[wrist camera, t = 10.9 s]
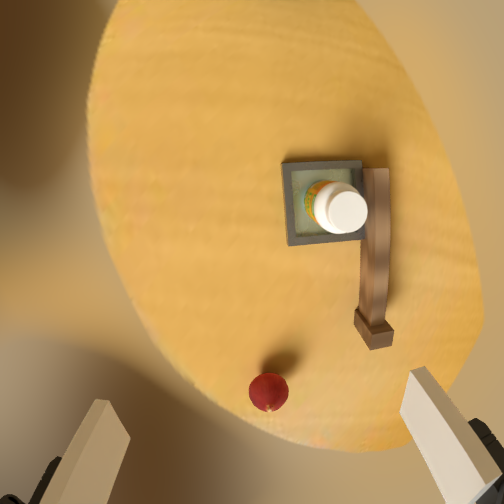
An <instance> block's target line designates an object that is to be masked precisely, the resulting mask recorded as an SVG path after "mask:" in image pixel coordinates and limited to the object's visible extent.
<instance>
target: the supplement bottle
mask: <svg viewBox="0 0 504 504" xmlns="http://www.w3.org/2000/svg"><path fill="white" fill-rule="evenodd" d="M303 205H304V209H305V211H306V213H307V215H308V216H309V217H310V218H311V219H312V220H313V221H315V222H316V223H317V224H318V225H320V226H321V227H322V228H324V229H325V230H327V231H329V232H331V233H335V234H342V233H349V232H354V231H356V230H358V229H359V228H360V227H362V225H363V224H364V223H365V221H366V218H367V213H368V209H367V204H366V202H365V200H364V198H363V197H362V196H361V195H360V194H359V192H358V191H357V190H356V189H355V188H354V187H353V186H351V185H349V184H347V183H343V182H337V181H329V180H320V181H317V182H315V183H313V184H311V185H310V186H309V187H308V189H307V190H306V192H305V194H304V198H303Z"/></svg>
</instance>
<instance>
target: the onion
mask: <svg viewBox="0 0 504 504" xmlns="http://www.w3.org/2000/svg"><path fill="white" fill-rule="evenodd" d="M288 392H289V389H288V386H287V384H286V381H285V379H283V378H282V377H281V376H279V375H278V374H275V373H264V374H261V375H259V376H257V377H256V378H255V379H254V380H253V381H252V382H251V384H250V386H249V397H250V399H251V401H252V403H253V404H254V406H256V407H257V408H258V409H260V410H263V411H265V412H272V411H275V410H278V409H279V408H280V407H281V406H282V405H283V404H284V403H285V402H286V400H287V398H288Z"/></svg>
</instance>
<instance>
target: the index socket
mask: <svg viewBox="0 0 504 504" xmlns="http://www.w3.org/2000/svg"><path fill="white" fill-rule="evenodd" d="M281 175H282V186H283V198H284V210H285V224H286V238H287V245H288V246H297V245H308V244H319V243H329V242H340V241H351V240H362V239H365V223H364V224H363V225H362V227H360V228H359V229H358V230H356V231H354V232H349V233H342V234H335V233H331V232H329V231H327V230H325V229H324V228H322V227H321V226H320V225H318V224H317V223H316V222H315V221H313V220H312V219H311V218H310V217H309V216H308V215H307V213H306V211H305V209H304V205H303V198H304V194H305V192H306V190H307V189H308V187H309V186H310V185H311V184H313V183H315V182H317V181H320V180H329V181H337V182H343V183H347V184H349V185H351V186H353V187H354V188H355V189H356V190H357V191H358V192H359V194H360V195H361V196H362V197H363V198H364V188H363V171H362V160H347V161H317V162H297V163H282V164H281Z"/></svg>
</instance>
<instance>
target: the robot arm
mask: <svg viewBox="0 0 504 504" xmlns="http://www.w3.org/2000/svg"><path fill="white" fill-rule="evenodd" d="M399 413H400V415H401V417H402V418H403V420H404V422H405V424H406V426H407V428H408V429H409V431H410V433H411V435H412V437H413V439H414V441H415V442H416V444H417V446H418V448H419V450H420V452H421V454H422V456H423V458H424V459H425V461H426V463H427V465H428V467H429V469H430V471H431V473H432V475H433V477H434V479H435V481H436V483H437V485H438V487H439V489H440V491H441V494H442V496H443V498H444V500H445V502H446V504H474V503H475V502H476V504H504V448H503V447H502V445H501V444H500V443H499V441H498V440H496V437H495V436H494V434H491V431H490V429H489V428H488V426H487V425H486V424H485V423H484V422H482V421H480V420H479V419H477V418H474V419H472V420H471V421H469V422H467V421H466V420H465V418H464V417H463V415H462V414H461V413H460V411H459V410H458V409H457V407H456V406H455V405H454V403H453V402H452V401H451V399H450V398H449V397H448V395H447V394H446V393H445V391H444V390H443V389H442V388H441V386H440V385H439V384H438V382H437V381H436V380H435V379H434V377H433V376H432V375H431V373H430V372H429V371H428V370H427V368H426V367H425V366H423V367H420V368H417V369H414V370H411V371H410V374H409V378H408V382H407V386H406V390H405V394H404V398H403V402H402V405H401V409H400V412H399ZM129 441H130V437H129V435H128V433H127V432H126V430H125V428H124V427H123V425H122V423H121V422H120V420H119V418H118V416H117V415H116V413H115V411H114V409H113V408H112V406H111V404H110V402H109V401H108V400H99V399H95V401H94V403H93V404H92V406H91V408H90V409H89V411H88V413H87V415H86V416H85V418H84V420H83V422H82V423H81V425H80V427H79V429H78V430H77V432H76V434H75V436H74V437H73V439H72V441H71V443H70V445H69V447H68V449H67V450H66V452H65V454H64V456H63V458H61V457H58V456H57V457H56V458H55V459H54V460H52V461H51V462H50V463H49V465H48V467H47V469H46V471H45V473H44V474H43V476H42V480H40V482H39V484H38V486H37V488H36V490H35V492H34V494H33V496H32V498H31V500H30V502H29V503H28V504H107V501H108V499H109V496H110V492H111V490H112V487H113V484H114V482H115V479H116V476H117V473H118V470H119V468H120V465H121V462H122V460H123V457H124V454H125V452H126V449H127V446H128V444H129ZM0 504H25V503H24V502H22V501H21V500H20V499H19V498H18V497H17V496H15V495H12V494H7V495H5V496H3V497H2V498H1V499H0Z"/></svg>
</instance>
